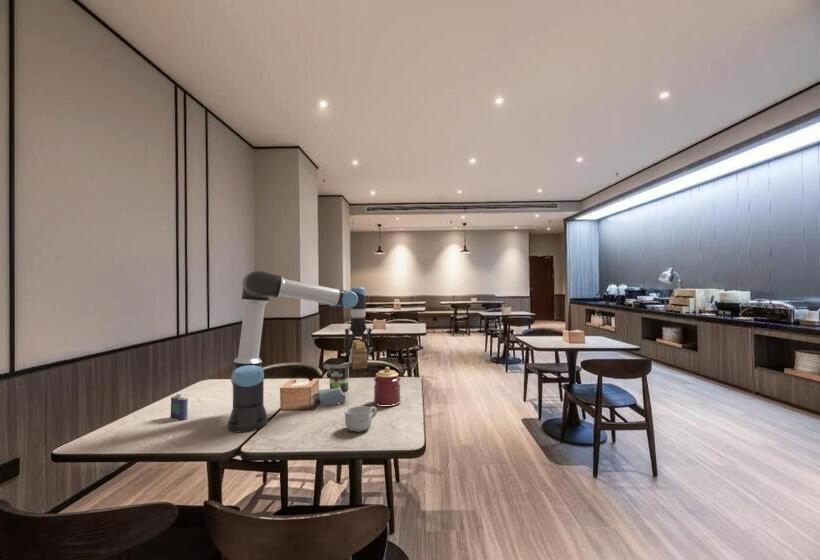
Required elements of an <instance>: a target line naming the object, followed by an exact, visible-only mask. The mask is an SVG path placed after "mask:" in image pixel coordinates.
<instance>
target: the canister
mask: <svg viewBox="0 0 820 560" xmlns="http://www.w3.org/2000/svg"><path fill="white" fill-rule="evenodd" d="M399 374H400V373H398V372H397V371H396V370H394V369H390V366H386V367H384V369H381V370H379V371H378V372H376V373H375V377H374V379H373V381H374V385H373V388H374V389H373V390H374V393H373V394H374V398H373V402H374V404H375V403H376V404H379V405H392V404H396V403H398V402H400V403H401V384H400V381H401V378H400V376H399ZM376 404H375V405H376Z"/></svg>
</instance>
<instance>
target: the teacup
mask: <svg viewBox="0 0 820 560" xmlns="http://www.w3.org/2000/svg"><path fill="white" fill-rule="evenodd" d="M372 410H374V411H373V414H372ZM377 413H378V409H377V407H375V406H366V405H365V406H364V405H358V406H351V407H349V408H347V409H345V410H344V420H345V421H344V423H345V426H346V429H348V430H349V431H350V430H351V431H350V432H352V431H362V432H364V431H363V430H365V431H366V429H367V428H368V429H369V428H370V427H371V425H372V420H374V418H375V417H376V415H377ZM368 429H367V430H368Z"/></svg>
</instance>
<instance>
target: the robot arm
mask: <svg viewBox="0 0 820 560" xmlns="http://www.w3.org/2000/svg"><path fill="white" fill-rule="evenodd" d="M241 285H242V292H241V301H243V303H244V307H243V313H242V314H243V315H242V323H241V331H240V337H239V338H240V339H239V348H238V355H237V358H235V359H234V360H233V367H232V371H231V374H230V381H231V384H232V409H231V412H230V416H229V417H228V422H227V429H228V431H230V430H231V431H230V432H233V431H236V432H235V433H245V432H244V431H246V432H251V431H250V430H252V431H255V429H256V430H259V429H262V428H265V426H267V425H268V423H269V417H268V414H267V411H266V407H265V405H264V403H265V402H264V397H265V396H264V385H265V384H264V378H265V373H264V368H263V367H262V365H263V364H262V363H263V361H262V360H261V358H260V351H261V342H262V333H263V325H264V317H265V310H266V309H265V308H266V306H267V305H266V304H268V303H269V302H270V298H279V297H285V298H292V299H295V300H296V299H298V300H303V301H309V302H316V303H322V304H327V305H328V306H329V307H345V308H348V309H349V308H350V327H349V328H344V332H345V335H344V343H343V348H344V349H346V350H347V356H348V363H349V362H350V363H352V349H351V348H352V343H353V341H354V340H355V337H356V336H361V338H362V342H363V343H365V350H367V351H368V353H367V356H368V355H369V352H370V351H369V349H370V348H372V347H373V343H372V342H373V341H372V328H371V327H367V325H366V314H367V313H366V307H367V306H366V305H367V304H366V299H367V298H366V297H367V295H366V294H367V293H366V292H367V291H366V288H365V287H363V286H362V287H355V286H353V287H351V288H350V290H343V289H339V288H332V287H327V286H323V285H318V284H314V283H313V284H311V283H308V282H303V281H297V280H292V279H287V278H284V277H283V276H282V275H279V274H275V273H271V272H268V271H265V270H261V269H257V270H253V271H251V272H248V273H247V274H246V275H245V276H244V278H243V280H242V284H241ZM350 332H351V337H350V340H349V334H350ZM365 332H366V333H367V339H366V335H365ZM238 431H239V432H238Z"/></svg>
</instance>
